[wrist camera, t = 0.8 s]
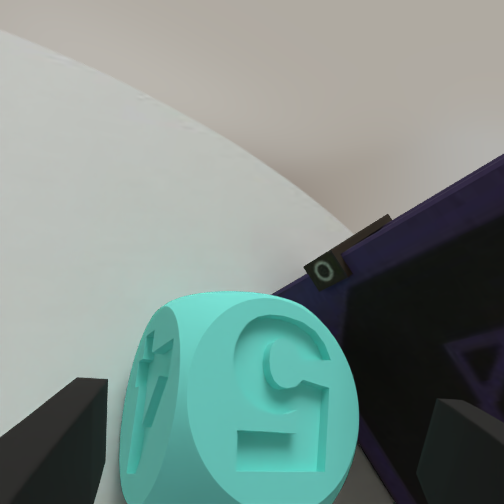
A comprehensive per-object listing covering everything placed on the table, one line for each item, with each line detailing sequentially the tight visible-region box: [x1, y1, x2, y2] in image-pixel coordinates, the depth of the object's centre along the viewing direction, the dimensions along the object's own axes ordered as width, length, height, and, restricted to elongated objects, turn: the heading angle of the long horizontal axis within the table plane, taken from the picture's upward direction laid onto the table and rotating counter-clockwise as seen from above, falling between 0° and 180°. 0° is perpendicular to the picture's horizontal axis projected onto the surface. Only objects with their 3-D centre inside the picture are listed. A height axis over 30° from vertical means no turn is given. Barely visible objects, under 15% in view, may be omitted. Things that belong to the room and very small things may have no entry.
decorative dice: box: [119, 291, 359, 504], centre depth 18 cm, size 8×8×8 cm
